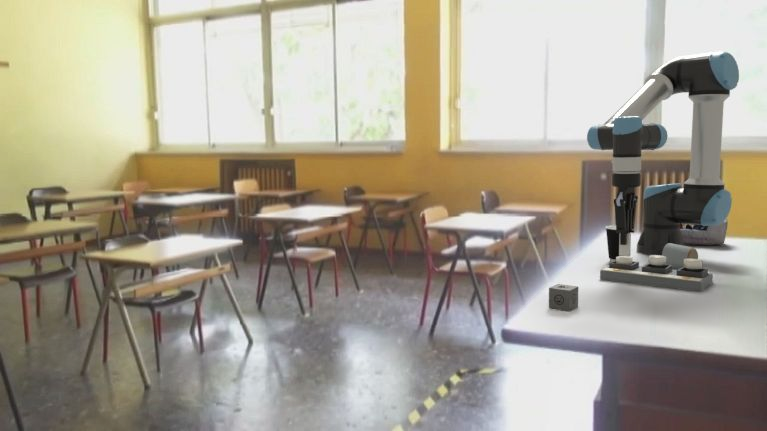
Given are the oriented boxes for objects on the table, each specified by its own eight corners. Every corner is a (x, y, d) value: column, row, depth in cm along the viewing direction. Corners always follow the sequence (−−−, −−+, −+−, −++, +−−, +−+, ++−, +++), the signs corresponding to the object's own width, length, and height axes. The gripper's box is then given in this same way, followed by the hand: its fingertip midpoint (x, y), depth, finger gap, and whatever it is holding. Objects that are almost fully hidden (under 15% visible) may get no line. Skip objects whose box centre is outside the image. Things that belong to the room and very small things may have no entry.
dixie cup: (634, 263, 200) (635, 228, 199) (608, 263, 201) (609, 228, 199) (626, 259, 208) (627, 225, 207) (601, 259, 209) (602, 225, 207)
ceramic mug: (688, 273, 184) (689, 247, 183) (660, 270, 190) (661, 244, 189) (703, 269, 191) (704, 243, 191) (675, 265, 197) (676, 240, 196)
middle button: (651, 261, 180) (651, 254, 180) (668, 263, 177) (668, 256, 177) (646, 264, 176) (646, 257, 176) (663, 266, 174) (663, 258, 173)
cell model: (729, 217, 224) (667, 216, 232) (729, 247, 225) (666, 246, 233) (726, 212, 236) (666, 212, 243) (726, 241, 237) (666, 240, 245)
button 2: (685, 265, 174) (686, 257, 174) (703, 267, 171) (703, 259, 171) (681, 267, 171) (681, 260, 171) (699, 269, 168) (699, 262, 168)
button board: (615, 271, 189) (615, 258, 188) (712, 282, 172) (713, 268, 172) (600, 279, 180) (600, 265, 179) (700, 291, 163) (701, 276, 163)
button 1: (619, 262, 186) (619, 255, 185) (634, 264, 183) (634, 257, 183) (613, 264, 182) (613, 258, 182) (629, 266, 179) (629, 259, 179)
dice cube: (557, 304, 154) (558, 283, 153) (578, 307, 151) (578, 286, 150) (548, 308, 150) (548, 287, 150) (569, 312, 147) (569, 290, 146)
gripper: (621, 170, 187) (619, 251, 190) (604, 173, 177) (603, 258, 180) (647, 171, 182) (645, 253, 185) (632, 174, 172) (630, 260, 175)
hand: (624, 255), depth 182 cm, fingers closed
